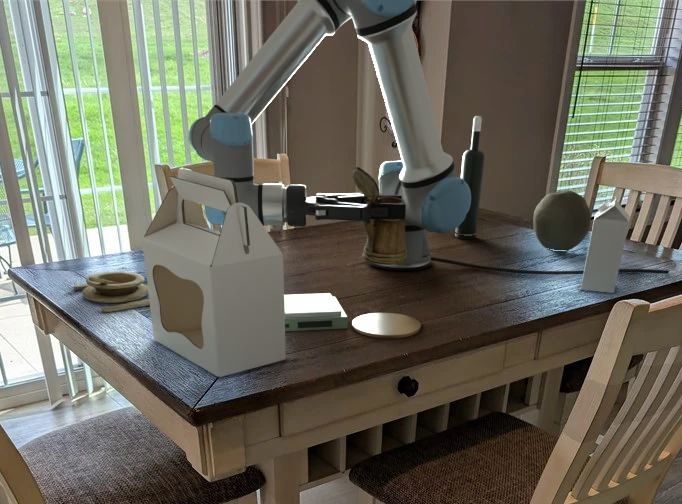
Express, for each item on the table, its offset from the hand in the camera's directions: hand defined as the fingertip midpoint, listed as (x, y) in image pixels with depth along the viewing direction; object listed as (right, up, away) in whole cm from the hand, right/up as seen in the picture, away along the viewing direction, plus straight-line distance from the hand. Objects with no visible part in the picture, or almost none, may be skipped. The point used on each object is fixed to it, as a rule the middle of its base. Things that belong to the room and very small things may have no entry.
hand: (403, 207), depth 141 cm
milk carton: (+45, -10, +21) cm, 51 cm away
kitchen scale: (-19, -22, -1) cm, 29 cm away
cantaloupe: (+44, +8, +49) cm, 66 cm away
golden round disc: (-3, -24, -4) cm, 25 cm away
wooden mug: (-5, -9, +5) cm, 11 cm away
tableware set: (-52, -12, +13) cm, 55 cm away
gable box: (-33, -31, -16) cm, 48 cm away
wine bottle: (+22, +17, +62) cm, 68 cm away
